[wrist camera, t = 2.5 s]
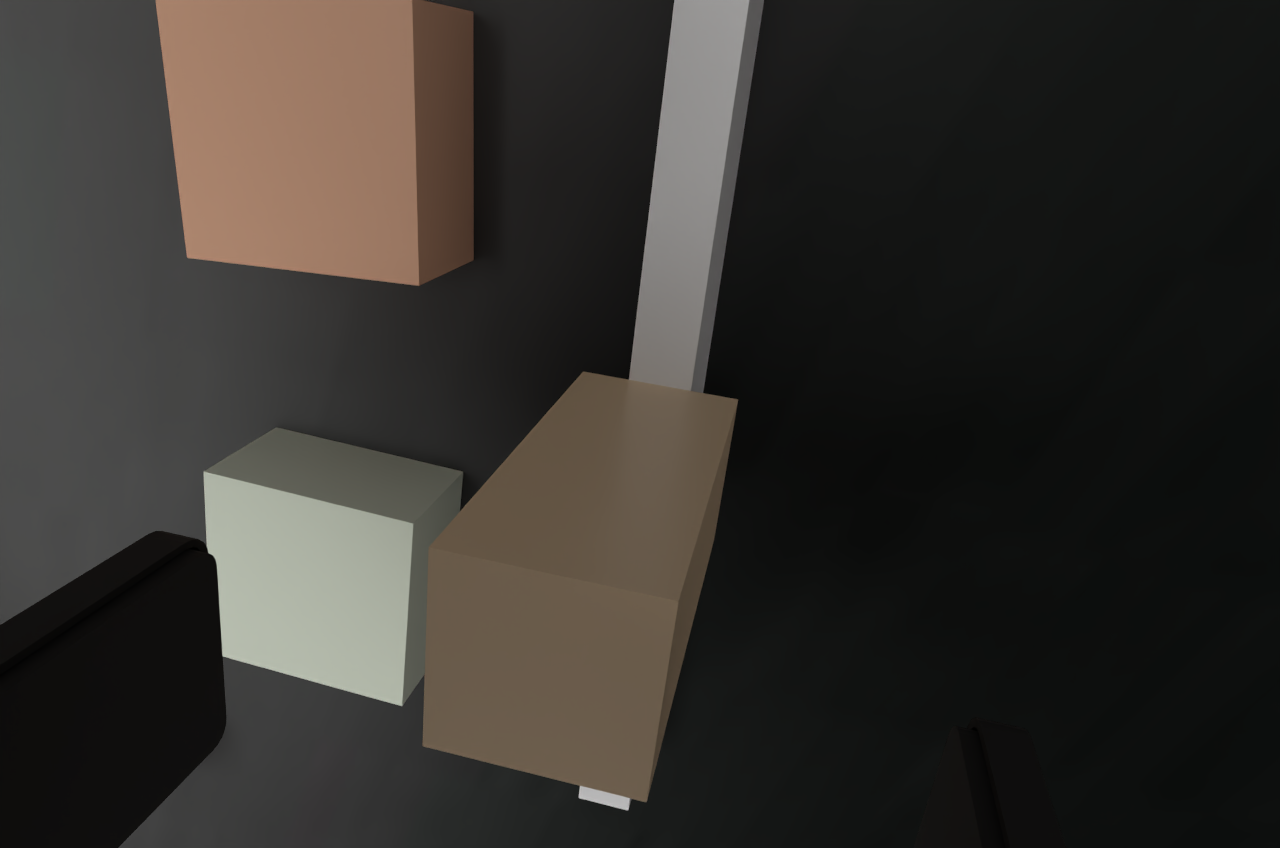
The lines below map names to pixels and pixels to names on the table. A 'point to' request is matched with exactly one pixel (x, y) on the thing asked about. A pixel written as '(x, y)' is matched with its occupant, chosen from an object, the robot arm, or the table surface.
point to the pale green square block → (327, 559)
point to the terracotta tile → (323, 134)
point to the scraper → (606, 487)
